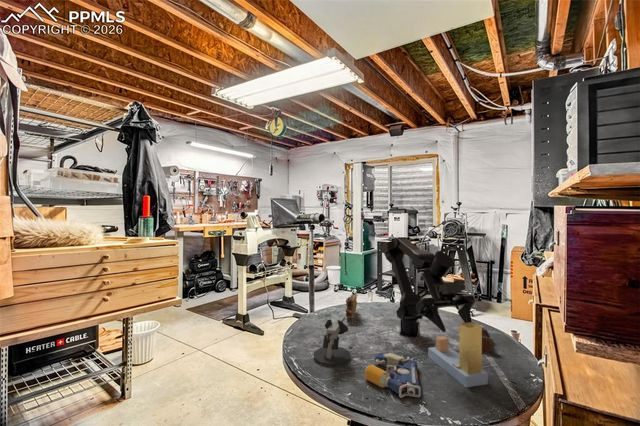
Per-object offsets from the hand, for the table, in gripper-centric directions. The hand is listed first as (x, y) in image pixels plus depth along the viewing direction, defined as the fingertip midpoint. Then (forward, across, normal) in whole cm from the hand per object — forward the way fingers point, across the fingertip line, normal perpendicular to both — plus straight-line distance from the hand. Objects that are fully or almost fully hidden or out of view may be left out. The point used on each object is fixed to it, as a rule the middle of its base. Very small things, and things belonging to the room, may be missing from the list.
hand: (458, 330), depth 92 cm
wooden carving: (-28, -16, +46) cm, 56 cm away
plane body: (+8, 0, +10) cm, 13 cm away
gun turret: (-5, -33, +23) cm, 41 cm away
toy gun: (+8, -21, +11) cm, 25 cm away
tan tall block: (+10, 0, +3) cm, 11 cm away
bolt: (-1, +22, +20) cm, 29 cm away
